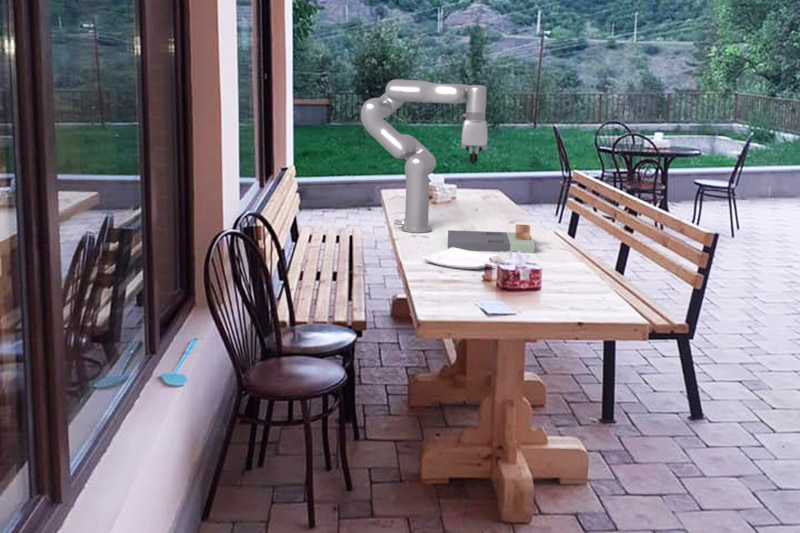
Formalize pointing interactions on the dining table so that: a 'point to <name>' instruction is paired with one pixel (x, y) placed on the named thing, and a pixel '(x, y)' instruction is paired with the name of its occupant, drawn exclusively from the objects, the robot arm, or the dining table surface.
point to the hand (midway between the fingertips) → (473, 163)
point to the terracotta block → (522, 232)
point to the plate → (459, 258)
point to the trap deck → (488, 241)
